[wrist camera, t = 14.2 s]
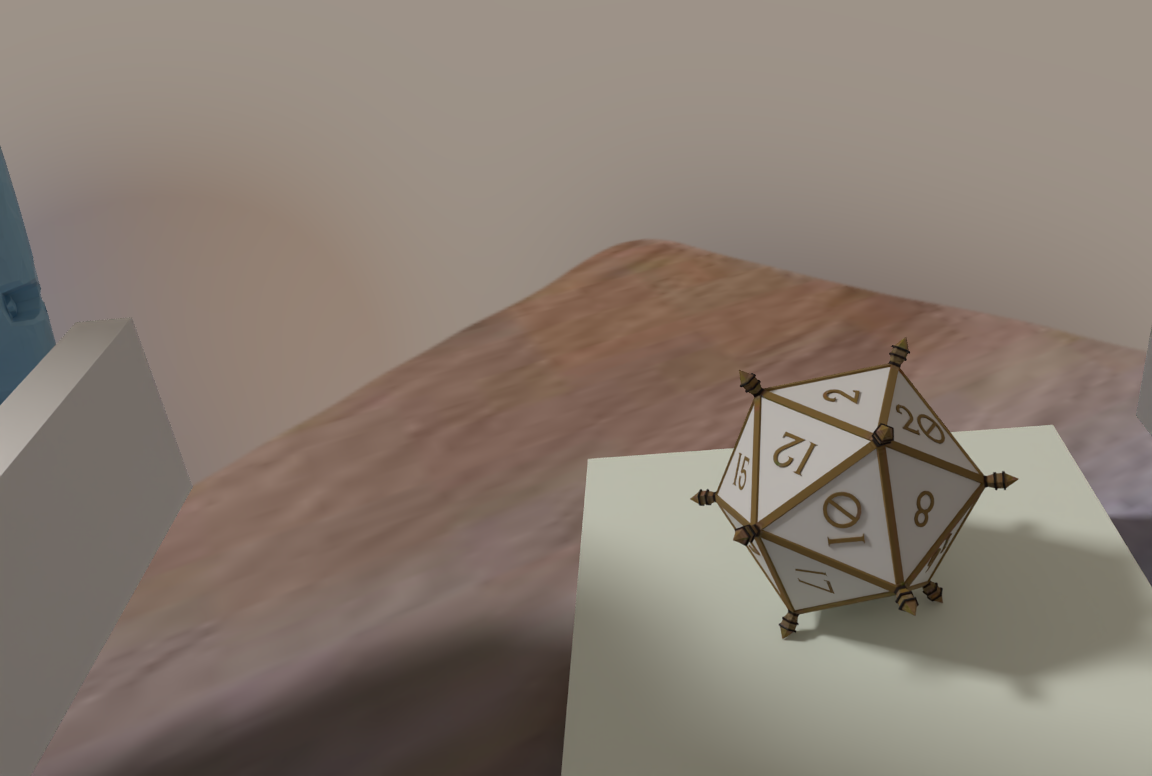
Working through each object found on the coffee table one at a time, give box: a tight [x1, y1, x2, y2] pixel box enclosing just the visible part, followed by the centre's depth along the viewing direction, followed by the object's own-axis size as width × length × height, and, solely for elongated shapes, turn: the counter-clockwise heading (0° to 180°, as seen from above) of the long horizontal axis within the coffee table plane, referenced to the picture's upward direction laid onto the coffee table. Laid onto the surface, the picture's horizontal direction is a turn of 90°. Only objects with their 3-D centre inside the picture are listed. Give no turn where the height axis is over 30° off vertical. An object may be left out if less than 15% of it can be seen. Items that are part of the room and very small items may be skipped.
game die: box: [690, 337, 1018, 639], centre depth 33 cm, size 9×8×10 cm
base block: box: [561, 425, 1152, 776], centre depth 36 cm, size 18×18×5 cm
